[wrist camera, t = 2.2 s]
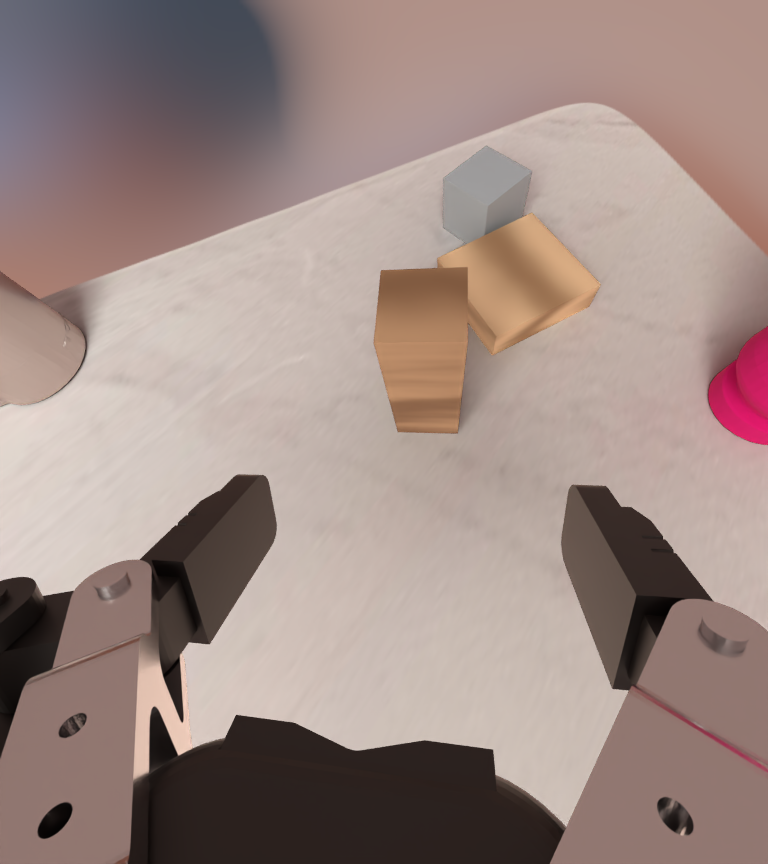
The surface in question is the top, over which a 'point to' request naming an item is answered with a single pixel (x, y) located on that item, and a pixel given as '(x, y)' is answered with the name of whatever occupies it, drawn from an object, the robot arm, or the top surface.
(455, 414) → the walnut pillar
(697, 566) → the top surface
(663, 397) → the top surface
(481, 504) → the top surface
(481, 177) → the slate block
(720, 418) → the pepper mill
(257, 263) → the top surface
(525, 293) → the oak base
